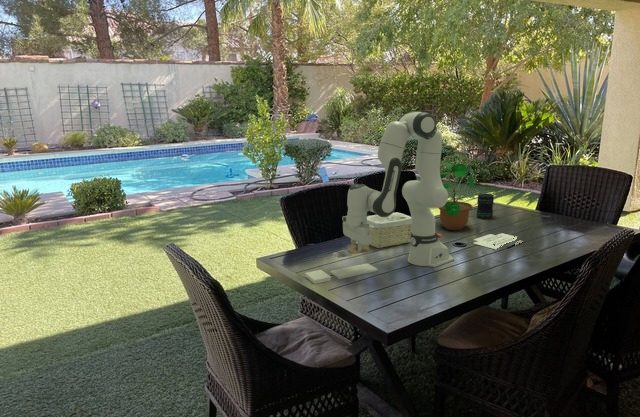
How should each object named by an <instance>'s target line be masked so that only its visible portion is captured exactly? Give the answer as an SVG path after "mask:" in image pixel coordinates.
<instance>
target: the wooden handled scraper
mask: <svg viewBox="0 0 640 417" xmlns="http://www.w3.org/2000/svg"><path fill="white" fill-rule="evenodd" d="M357 247H358V242H356V244H352V243H351V244H347V250H343V251H342V250H341V251H337V252H333V253H332V255H333V256H334V257H336V258H338V259H339V258H340V259H341V258H345V257H350V256H353V255H357V254H364V253H369V252H370V245H362V250H361V251H358V250H357Z"/></svg>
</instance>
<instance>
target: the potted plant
mask: <svg viewBox="0 0 640 417" xmlns="http://www.w3.org/2000/svg"><path fill="white" fill-rule="evenodd" d="M443 167H446V168H451V171H450V170H443V171H442V172H440V177H441V180H443V179H444V184H443V186H444V188H445V189H446V190H447V192H448V196H450V198H452V199H453V200H451V201H450V200H449V199H448V200H447V202H446V204H445V205H444V206H443V207H440V208H438V209H439V220H440V222H441V225H442V226H443V227H444V228H445V229H446V230H448V231H461V230H463V228H464V227H465V226H466V225H467V224H468V221H469V218H470V217H469V215H470V214H469V213H470V212H471V210H472V209H473V204H471V203H469V202H465V201H459V199H460V198H461V197H462V194H463V193H464V191H465V189H466V187H467V185H469V187H470V188H473V187H474V186H475V182H474V176H473V175H472V174H473V173H474V174H476V172H475V171H474V170H473V169H471V168H467V166H466V165H464V164H462V163H456V164H452V163H448V164H443V165H440V168H443ZM450 172H452V173H453V174H454V175H455V179H454V183H456V180H457V178H461V179H460V182H459V183H458V186H457V189H456V184H452V183H451V182H450V181H451V180H450ZM468 172H470V173H469V176H468V179H467V180H468V181H467V183H466V184H465V187H464V189H462V192H461V194H460V195H459V196H458V198H457V199H456V194H457V192H458V189H459V186H460V185H461V182H462V180H463V178H464V176H466V175H467V173H468ZM471 172H473V173H471ZM453 186H454V187H453ZM448 189H449V190H448Z"/></svg>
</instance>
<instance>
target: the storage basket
mask: <svg viewBox="0 0 640 417" xmlns="http://www.w3.org/2000/svg"><path fill="white" fill-rule="evenodd" d="M367 225H368V227H369V228H370V230H371V237H372V243H371V244H370V245H369V246H371V247H374V248H377V249H382V248H386V247H387V248H388V247H390V246H399V245H403V244H407V243H411V240H410V237H411V232H412V218H411V215H407V214H405V213H401V212H398V211H397V212H393V213H392V214H391V215H390V216H388V217H380V216H378V215H377V214H374V215H367Z"/></svg>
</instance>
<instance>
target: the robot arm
mask: <svg viewBox="0 0 640 417" xmlns="http://www.w3.org/2000/svg"><path fill="white" fill-rule="evenodd" d="M436 121H437V120H436V119H435V116H433V115H432V114H431V113H428V112H426V111H425V112H424V111H411V112H406V113H404V114H402V115H401V116H400V117H399V118H398V119H397V120H396V121H395V120H393V121H391V122H389V123H388V124H387V126H386V128H385V130H384V132H383V134H382V137H381V139H380V142H379V146H378V150H377V159H378V160H379V162H380V163H381V164H382V166H383V167H384V171H385V176H384V180H383V185H382V190H381V191H378V190H376V189H373V188H370V187H369V186H366V184H363V183H357V184H354V185H351V186H350V187H349V188H348V192H347V203H346V205H347V215H345V216H344V215H343V216H342V232H343V235H344V236H345V237H348V238H350V242H351V244H357V243H358V247H357V250H358V251H361V250H362V245H369V246H371V245H370V244H371V243H372V237H371V230H370V228H369V227H368V225H367V216H368V212H372V213H374V214H375V215H378V216H380V217H388V216H390V215H391V214H392V213H395V211H396V207H397V191H398V186H399V182H400V178H401V172H402V161H403V160H402V158H403V154H404V151H405V148H406V145H407V142H408V140H409V138H410V137H413V138H416V139H417V147H416V148H417V149H416V157H415V165H414V166H415V167H414V168H415V171H416V172H417V173H418V175H419V177H420V178H419V180H416V179H415V180H408V181H406V182H405V183H404V184H403V186H402V189H401V193H402V197H403V198H404V199H405V201H406V202H407V205H408V208H409V212H410V217H411V218H412V230H411V237H410V248H409V254H408V257H407V262H408V263H410V264H412V265H414V266H418V267H419V266H420V267H431V268H437V267H439V266H441V265H445V264H447V263H451V262H453V261H454V257H453V256H452V255H450V254H449V252H450V251H449V248H448V246H446V245H445V244H444V243H442V242H441V241H440V240H439V239H442V238H443V234H441V233H437V232H436V217H435V214H433V212H432V210H431V208H432V209H439V208H440V207H443V206H444V205H445V204H446V202H447V201H448V200H449V193H448V191H447V188H445V187H444V186H443V185H444V184H443V181H442V179H441V177H440V174H441V170H440V169H441V158H442V150H443V149H442V146H443V145H442V144H443V140H442V133H441V131H440V130H438V126H437V122H436Z"/></svg>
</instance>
